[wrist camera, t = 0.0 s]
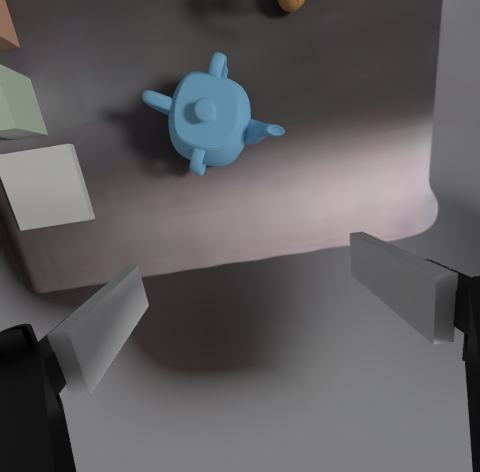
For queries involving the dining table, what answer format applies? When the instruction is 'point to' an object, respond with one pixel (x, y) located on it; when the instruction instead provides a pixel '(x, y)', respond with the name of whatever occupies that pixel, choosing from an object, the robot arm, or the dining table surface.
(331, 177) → the dining table surface
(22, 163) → the base plate
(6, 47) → the terracotta brick
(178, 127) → the teapot
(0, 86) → the sage brick
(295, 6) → the figurine
